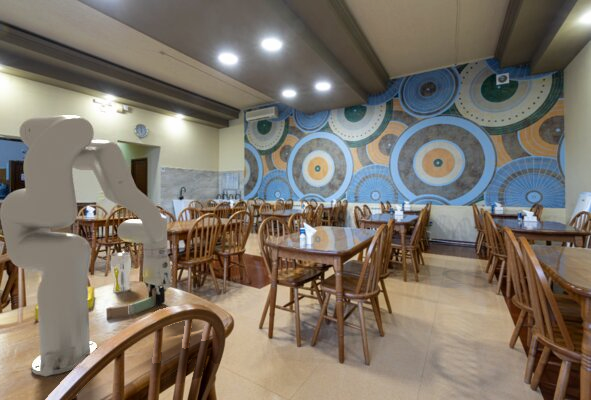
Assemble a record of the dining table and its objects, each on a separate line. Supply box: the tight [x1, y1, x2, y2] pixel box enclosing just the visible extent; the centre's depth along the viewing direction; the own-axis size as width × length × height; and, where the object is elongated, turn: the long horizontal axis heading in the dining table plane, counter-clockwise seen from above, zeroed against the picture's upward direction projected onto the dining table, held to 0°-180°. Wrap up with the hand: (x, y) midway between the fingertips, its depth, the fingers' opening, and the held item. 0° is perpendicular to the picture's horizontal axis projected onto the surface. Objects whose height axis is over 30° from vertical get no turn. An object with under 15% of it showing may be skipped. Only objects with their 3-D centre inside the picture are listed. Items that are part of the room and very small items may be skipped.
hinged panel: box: [132, 287, 162, 314], centre depth 97 cm, size 10×3×6 cm, turn 150°
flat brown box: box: [105, 303, 135, 320], centre depth 96 cm, size 19×19×4 cm
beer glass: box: [110, 251, 132, 294], centre depth 114 cm, size 7×7×15 cm
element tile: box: [34, 286, 95, 322], centre depth 98 cm, size 15×15×5 cm
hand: (156, 302), depth 100 cm, fingers closed on hinged panel, 3 cm apart
